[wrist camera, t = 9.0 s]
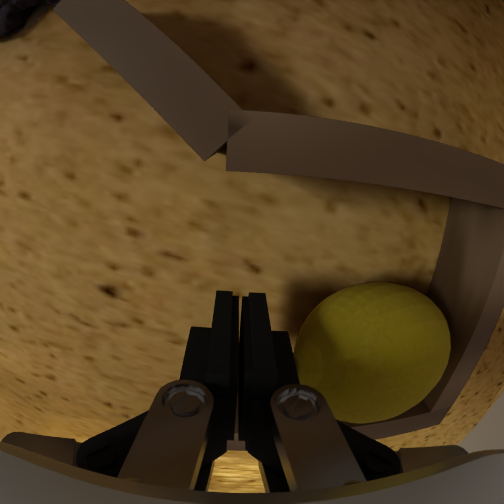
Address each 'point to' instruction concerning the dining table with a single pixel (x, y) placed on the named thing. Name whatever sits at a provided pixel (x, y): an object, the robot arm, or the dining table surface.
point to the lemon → (373, 350)
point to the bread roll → (21, 14)
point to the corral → (332, 167)
